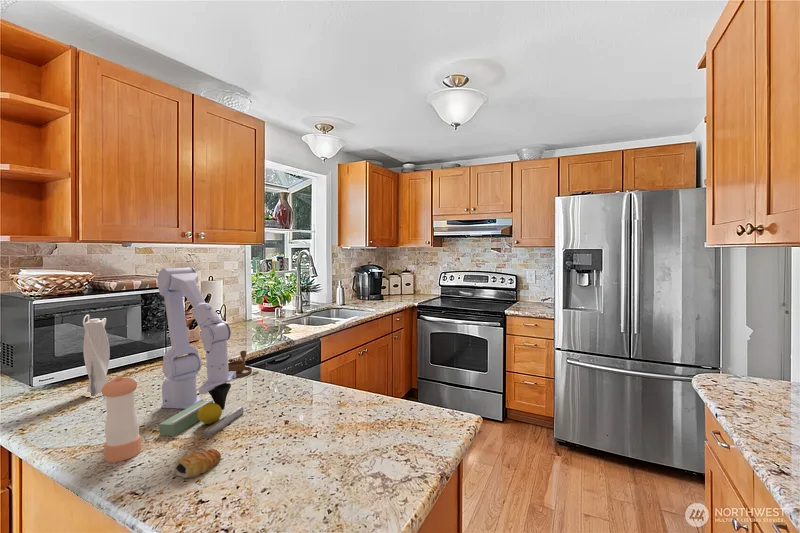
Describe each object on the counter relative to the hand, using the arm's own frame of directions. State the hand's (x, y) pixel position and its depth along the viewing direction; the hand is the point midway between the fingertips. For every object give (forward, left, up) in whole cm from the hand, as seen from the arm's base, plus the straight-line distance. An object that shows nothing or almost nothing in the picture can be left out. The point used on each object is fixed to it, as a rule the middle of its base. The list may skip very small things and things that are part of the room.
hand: (220, 409), depth 115 cm
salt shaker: (-10, -23, -2) cm, 25 cm away
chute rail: (+5, -5, -2) cm, 7 cm away
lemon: (0, -1, -1) cm, 1 cm away
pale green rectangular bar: (-7, -5, -2) cm, 9 cm away
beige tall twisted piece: (-57, +12, -2) cm, 59 cm away
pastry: (+12, -26, -3) cm, 29 cm away
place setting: (-20, +42, -3) cm, 47 cm away
